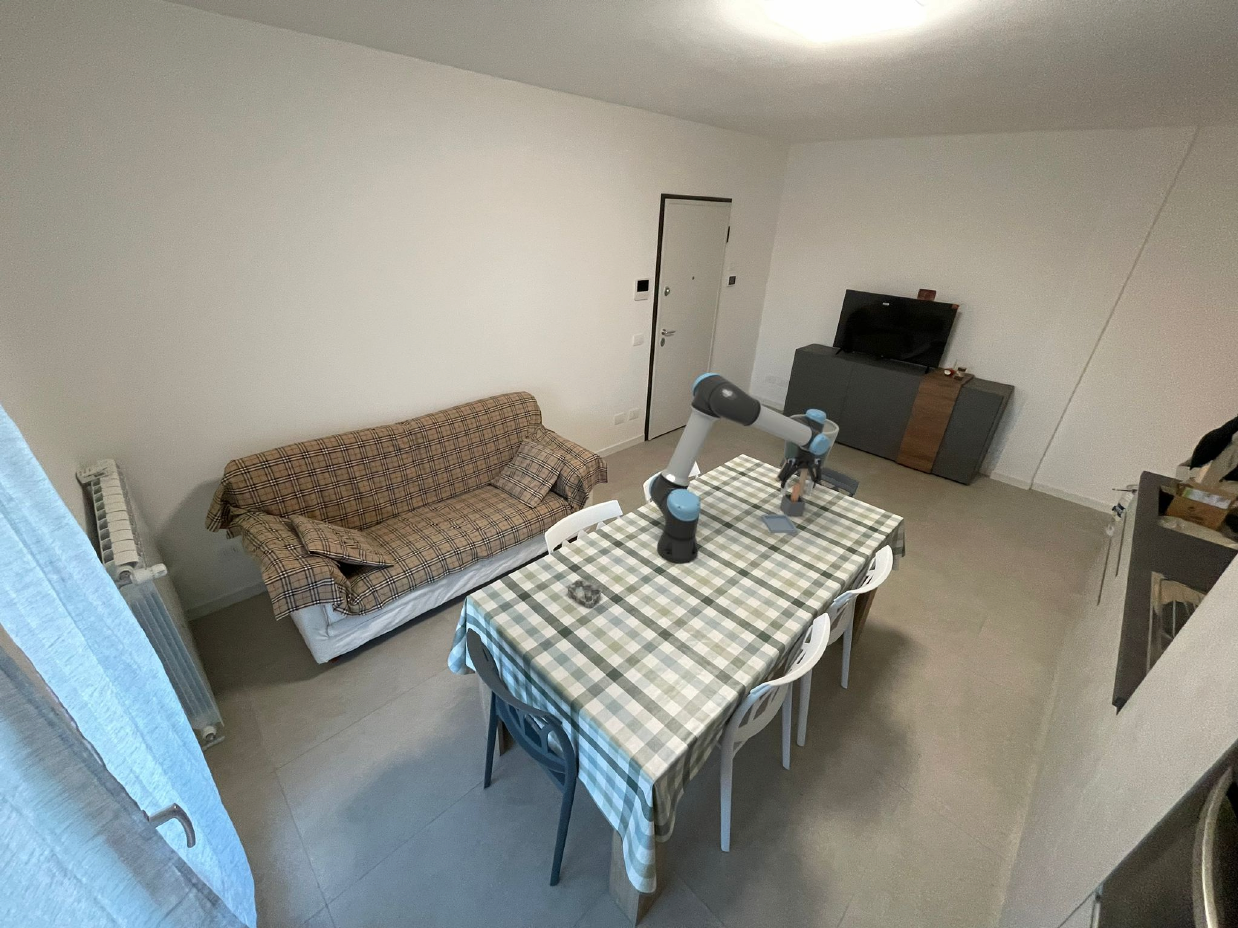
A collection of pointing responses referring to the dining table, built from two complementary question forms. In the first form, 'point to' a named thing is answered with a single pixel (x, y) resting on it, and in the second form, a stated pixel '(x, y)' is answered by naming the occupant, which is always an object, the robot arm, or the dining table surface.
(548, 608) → the dining table surface
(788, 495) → the pen pot
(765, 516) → the tray
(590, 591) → the egg carton
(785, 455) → the planter
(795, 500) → the dowel
